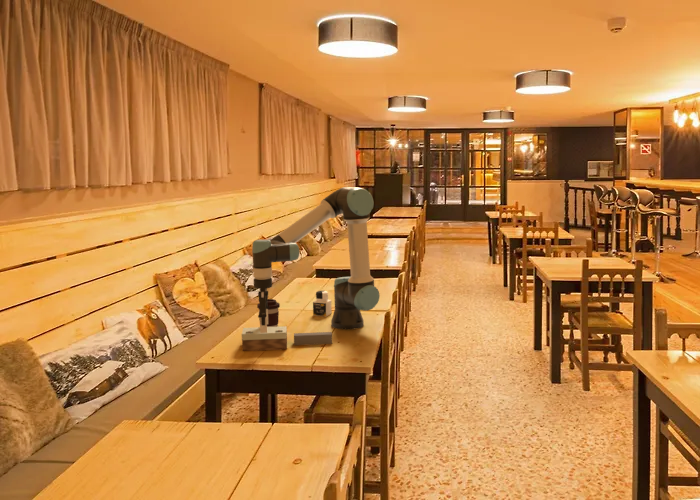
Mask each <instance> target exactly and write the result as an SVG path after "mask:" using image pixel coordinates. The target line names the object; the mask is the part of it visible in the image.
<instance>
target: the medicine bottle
mask: <svg viewBox="0 0 700 500" xmlns="http://www.w3.org/2000/svg"><path fill="white" fill-rule="evenodd" d="M332 311H333V310H332V299H329V292H328V291H326V290H318V291H316V292H315V300H314V301H313V302H312V315H313V316H314V317H315V316H316V317H325V318H326V317H328V316H330V315H332Z"/></svg>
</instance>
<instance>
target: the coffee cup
mask: <svg viewBox="0 0 700 500" xmlns="http://www.w3.org/2000/svg"><path fill="white" fill-rule="evenodd" d="M267 302H268V306H269V309H268V324H267V327H279V318H280V317H279V315H280V311H279V308H280V306H281V304H280V303H279V302H278V301H277V300H276V299H275V298H274V299H273V298H268V299H267ZM256 305H257V307H256V308H257V309H258V315H260V303H259V302H258V303H257V304H256ZM258 319H259V320H258V321H260V317H259V318H258Z"/></svg>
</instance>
